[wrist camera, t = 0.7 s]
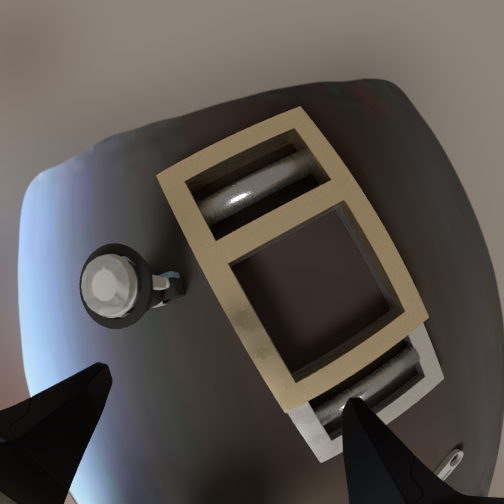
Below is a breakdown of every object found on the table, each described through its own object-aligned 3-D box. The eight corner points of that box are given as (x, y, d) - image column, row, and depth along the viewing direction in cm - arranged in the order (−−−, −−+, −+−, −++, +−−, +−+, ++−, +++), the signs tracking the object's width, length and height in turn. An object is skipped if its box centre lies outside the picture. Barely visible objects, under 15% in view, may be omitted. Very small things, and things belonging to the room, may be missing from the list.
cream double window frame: (318, 455, 21) (323, 471, 18) (166, 187, 26) (156, 175, 23) (436, 375, 22) (452, 381, 19) (296, 123, 27) (300, 106, 24)
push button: (131, 328, 24) (68, 342, 14) (116, 274, 25) (51, 262, 15) (194, 309, 24) (154, 318, 14) (177, 253, 25) (131, 227, 15)
